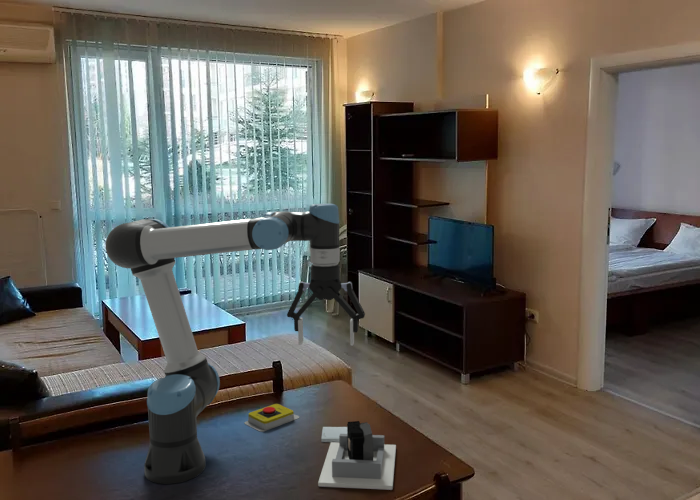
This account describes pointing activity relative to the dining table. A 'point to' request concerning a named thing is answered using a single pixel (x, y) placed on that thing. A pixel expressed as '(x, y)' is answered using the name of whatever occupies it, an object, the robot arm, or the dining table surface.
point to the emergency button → (270, 417)
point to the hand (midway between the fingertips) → (326, 343)
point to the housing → (359, 466)
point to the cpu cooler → (359, 441)
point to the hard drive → (332, 433)
